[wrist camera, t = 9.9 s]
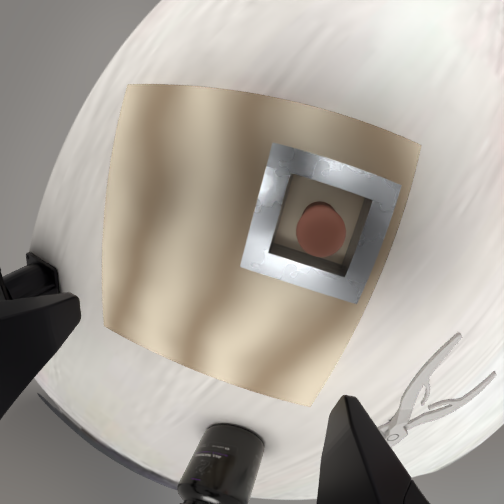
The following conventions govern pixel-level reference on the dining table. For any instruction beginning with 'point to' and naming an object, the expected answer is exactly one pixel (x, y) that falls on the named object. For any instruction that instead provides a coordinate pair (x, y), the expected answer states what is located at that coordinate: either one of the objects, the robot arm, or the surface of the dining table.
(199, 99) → the keeper board
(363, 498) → the robot arm
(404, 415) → the pliers
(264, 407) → the dining table surface
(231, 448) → the supplement bottle
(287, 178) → the grey square frame
